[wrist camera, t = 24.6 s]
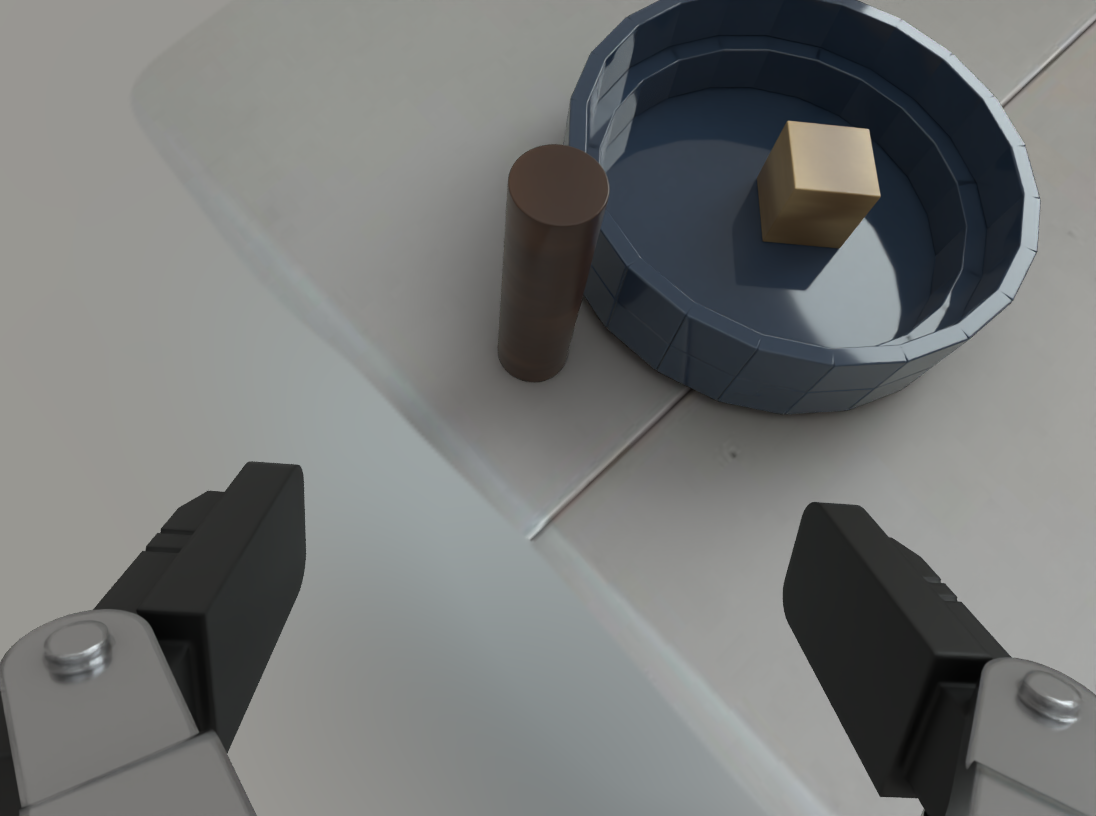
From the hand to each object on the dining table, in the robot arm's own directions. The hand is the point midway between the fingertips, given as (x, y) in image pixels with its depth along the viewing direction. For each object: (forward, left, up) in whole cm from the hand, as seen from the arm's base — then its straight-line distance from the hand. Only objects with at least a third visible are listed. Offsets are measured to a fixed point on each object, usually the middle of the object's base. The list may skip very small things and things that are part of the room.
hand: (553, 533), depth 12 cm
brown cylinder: (0, +11, -14) cm, 18 cm away
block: (+12, +18, -14) cm, 26 cm away
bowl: (+10, +18, -14) cm, 25 cm away
